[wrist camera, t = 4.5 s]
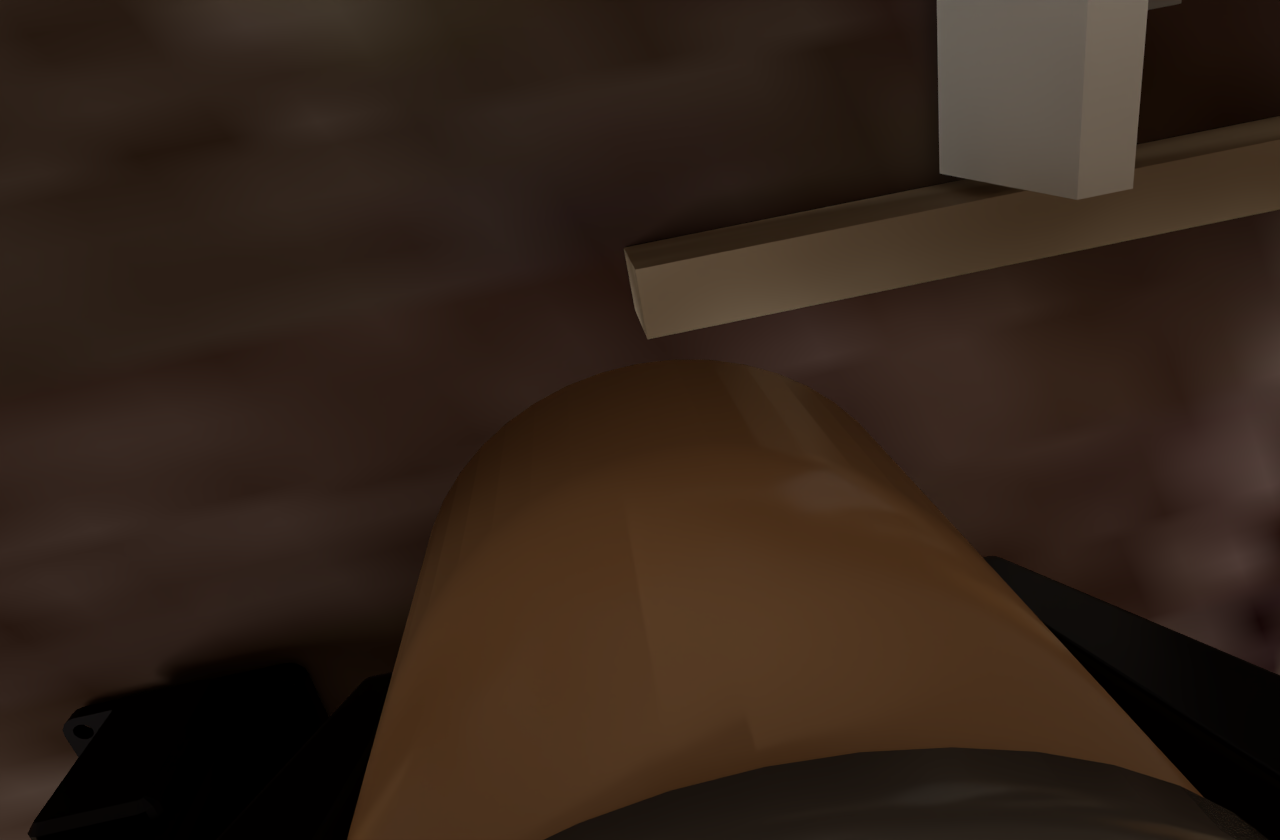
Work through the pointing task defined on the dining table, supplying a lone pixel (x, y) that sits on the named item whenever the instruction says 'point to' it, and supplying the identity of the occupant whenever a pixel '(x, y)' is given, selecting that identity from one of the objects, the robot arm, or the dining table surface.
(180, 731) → the robot arm
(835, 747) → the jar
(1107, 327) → the dining table surface
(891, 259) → the tan piece
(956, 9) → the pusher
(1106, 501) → the dining table surface
